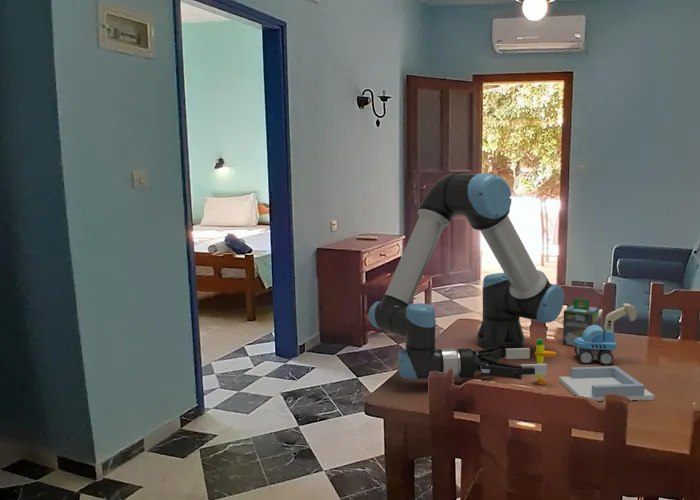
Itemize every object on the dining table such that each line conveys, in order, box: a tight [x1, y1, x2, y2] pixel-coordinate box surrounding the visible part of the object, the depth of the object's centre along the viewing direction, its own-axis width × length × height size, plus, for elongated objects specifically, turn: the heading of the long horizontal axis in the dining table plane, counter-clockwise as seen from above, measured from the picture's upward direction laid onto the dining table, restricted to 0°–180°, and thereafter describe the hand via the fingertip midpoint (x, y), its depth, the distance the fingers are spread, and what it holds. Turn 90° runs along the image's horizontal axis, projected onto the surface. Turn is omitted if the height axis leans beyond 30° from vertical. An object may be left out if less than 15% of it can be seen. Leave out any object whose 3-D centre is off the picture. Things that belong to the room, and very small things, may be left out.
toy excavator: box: [574, 303, 638, 366], centre depth 184 cm, size 9×17×17 cm, turn 78°
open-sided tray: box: [558, 365, 655, 402], centre depth 161 cm, size 18×15×4 cm
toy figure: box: [534, 338, 557, 386], centre depth 166 cm, size 7×4×12 cm, turn 79°
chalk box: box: [562, 298, 600, 347], centre depth 202 cm, size 9×9×15 cm
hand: (537, 361), depth 166 cm, fingers open, 13 cm apart
